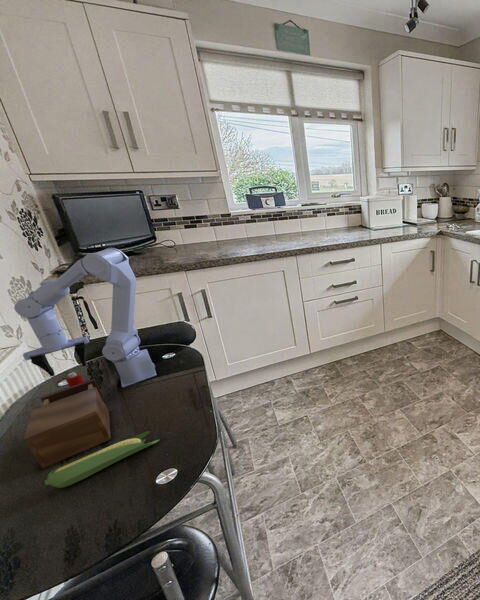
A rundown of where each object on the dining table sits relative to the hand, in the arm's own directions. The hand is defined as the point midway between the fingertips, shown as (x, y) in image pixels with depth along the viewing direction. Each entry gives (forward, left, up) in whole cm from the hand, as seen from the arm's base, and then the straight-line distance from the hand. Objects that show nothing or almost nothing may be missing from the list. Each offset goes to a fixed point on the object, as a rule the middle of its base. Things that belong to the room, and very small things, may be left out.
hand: (69, 369), depth 106 cm
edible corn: (-7, +51, -7) cm, 52 cm away
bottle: (0, 0, -7) cm, 7 cm away
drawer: (-1, +22, -6) cm, 22 cm away
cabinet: (-1, +33, -7) cm, 34 cm away
